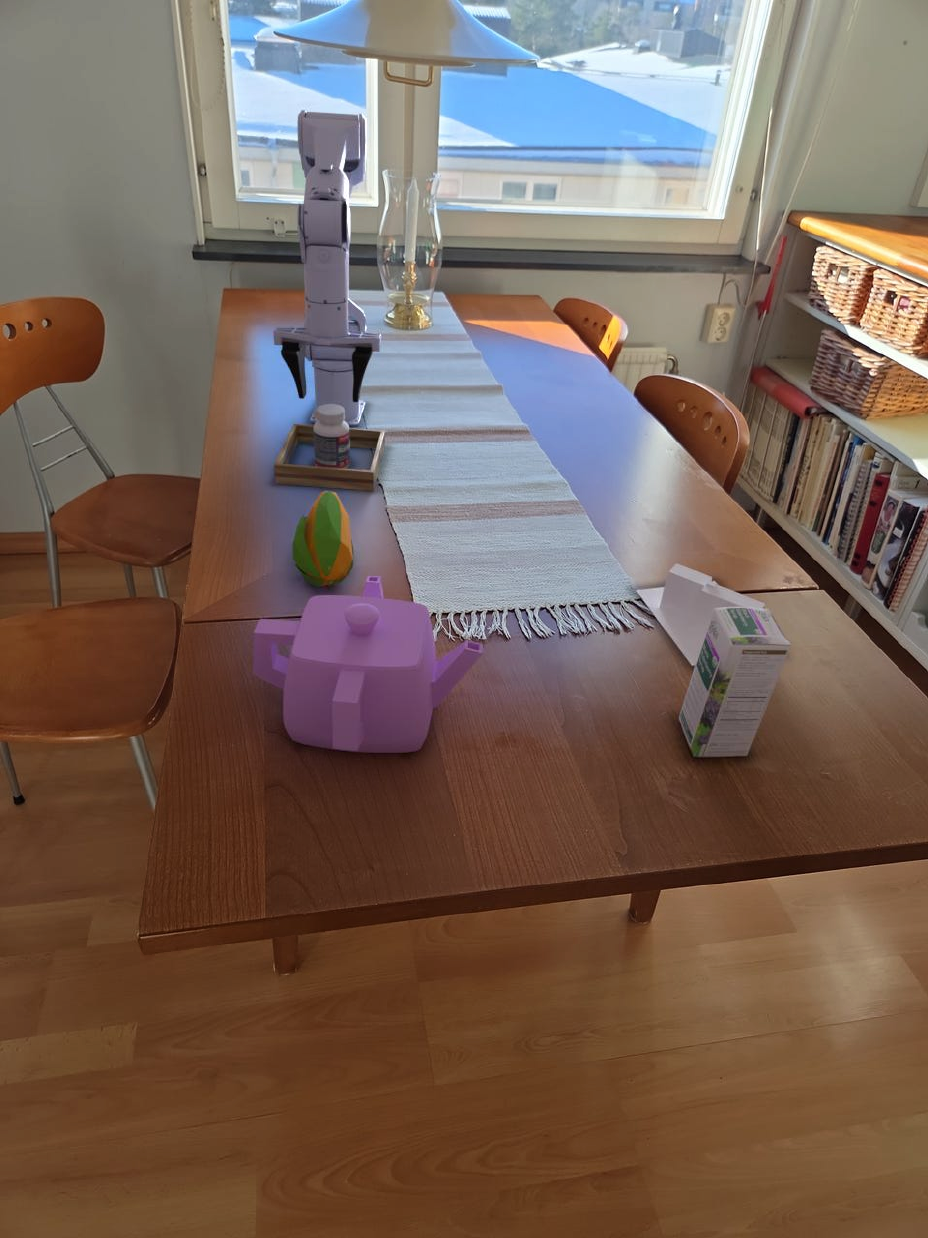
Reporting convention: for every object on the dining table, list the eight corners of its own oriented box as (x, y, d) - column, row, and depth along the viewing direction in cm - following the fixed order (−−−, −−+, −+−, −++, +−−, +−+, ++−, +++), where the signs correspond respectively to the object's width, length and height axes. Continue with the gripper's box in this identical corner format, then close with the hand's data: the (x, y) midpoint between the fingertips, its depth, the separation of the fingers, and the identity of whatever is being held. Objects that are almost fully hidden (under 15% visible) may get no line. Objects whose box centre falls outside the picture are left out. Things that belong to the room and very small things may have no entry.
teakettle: (245, 701, 85) (232, 602, 78) (377, 636, 95) (378, 542, 87) (346, 801, 76) (343, 700, 68) (482, 718, 85) (492, 621, 78)
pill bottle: (343, 475, 125) (342, 419, 119) (309, 470, 125) (307, 413, 120) (354, 460, 129) (353, 404, 124) (321, 454, 130) (319, 399, 124)
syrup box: (676, 718, 87) (709, 605, 78) (731, 717, 88) (770, 605, 79) (692, 758, 83) (730, 643, 74) (750, 758, 83) (794, 643, 75)
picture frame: (294, 441, 133) (293, 423, 131) (384, 447, 133) (385, 430, 131) (275, 483, 121) (273, 465, 120) (373, 491, 121) (373, 472, 120)
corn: (289, 547, 94) (297, 464, 110) (289, 602, 99) (296, 515, 114) (356, 550, 95) (354, 468, 111) (353, 604, 100) (351, 518, 116)
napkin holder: (780, 653, 97) (794, 613, 94) (692, 666, 94) (704, 626, 91) (713, 580, 108) (725, 542, 105) (634, 590, 105) (642, 551, 102)
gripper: (265, 301, 110) (272, 403, 117) (376, 309, 110) (376, 410, 117) (277, 290, 116) (283, 387, 123) (382, 297, 116) (382, 394, 123)
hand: (329, 398), depth 120 cm, fingers open, 7 cm apart
